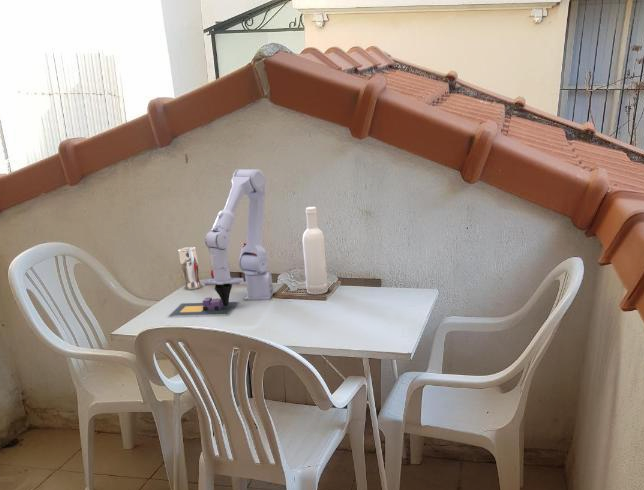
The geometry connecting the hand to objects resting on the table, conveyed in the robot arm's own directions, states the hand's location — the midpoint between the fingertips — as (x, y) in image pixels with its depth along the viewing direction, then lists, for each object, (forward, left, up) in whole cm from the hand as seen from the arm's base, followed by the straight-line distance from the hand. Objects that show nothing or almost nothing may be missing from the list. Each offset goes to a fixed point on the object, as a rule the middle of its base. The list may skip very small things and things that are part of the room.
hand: (226, 305), depth 245 cm
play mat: (+8, 0, -1) cm, 9 cm away
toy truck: (+5, 0, -1) cm, 5 cm away
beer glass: (+22, -30, -2) cm, 37 cm away
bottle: (-30, -18, -2) cm, 35 cm away
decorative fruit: (+11, -29, +4) cm, 31 cm away
